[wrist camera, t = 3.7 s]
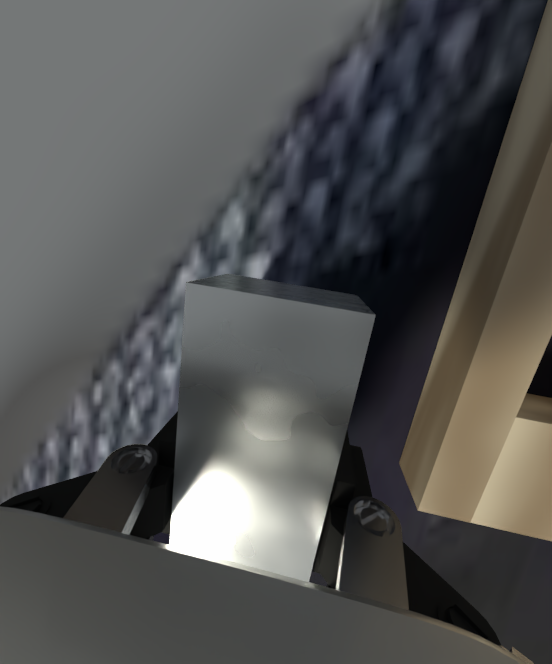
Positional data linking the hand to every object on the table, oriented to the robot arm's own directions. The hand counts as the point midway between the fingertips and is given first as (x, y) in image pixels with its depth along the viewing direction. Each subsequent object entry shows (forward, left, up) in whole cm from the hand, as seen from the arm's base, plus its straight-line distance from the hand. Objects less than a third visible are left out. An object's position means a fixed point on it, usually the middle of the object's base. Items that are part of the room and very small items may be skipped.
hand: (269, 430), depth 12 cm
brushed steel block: (0, 0, -4) cm, 4 cm away
